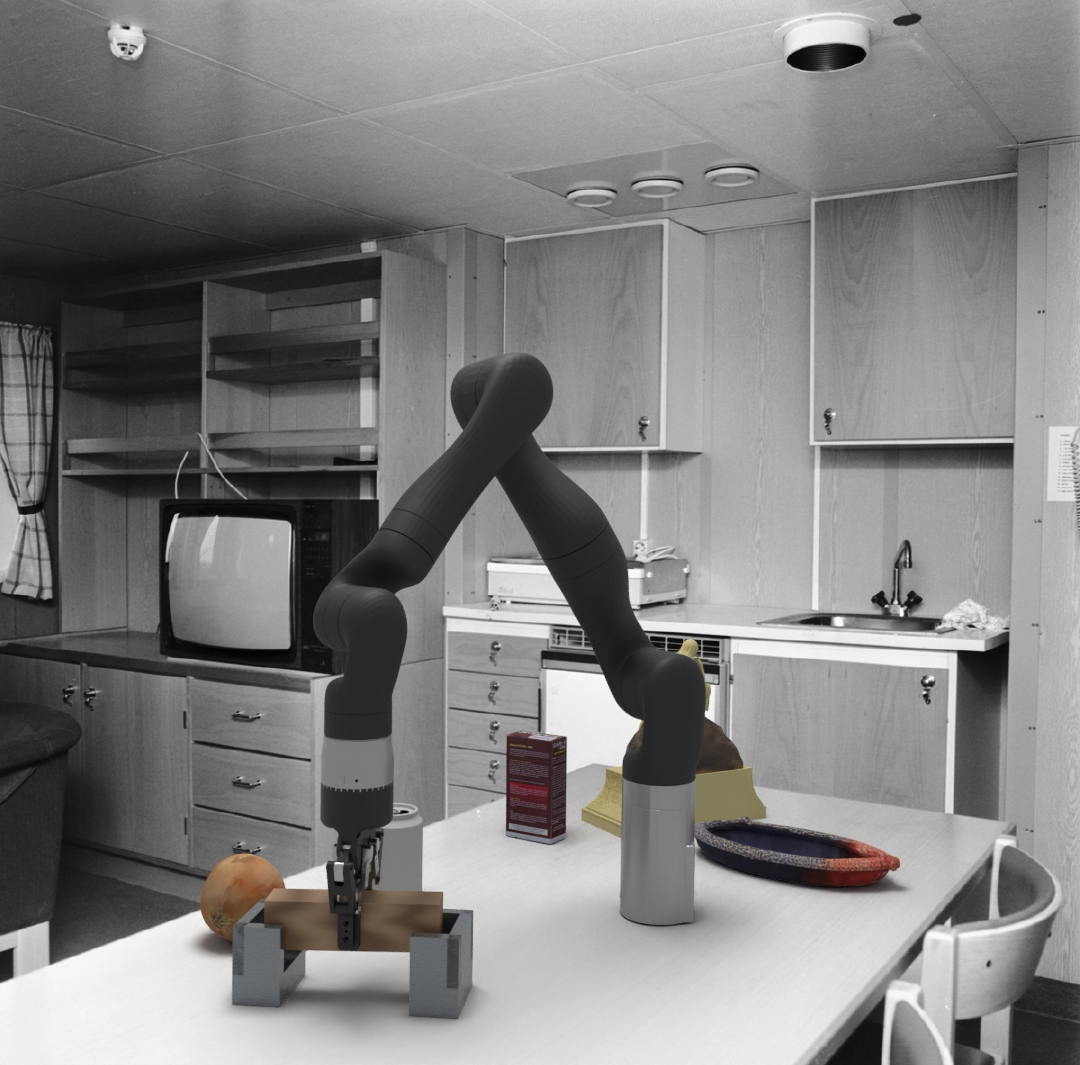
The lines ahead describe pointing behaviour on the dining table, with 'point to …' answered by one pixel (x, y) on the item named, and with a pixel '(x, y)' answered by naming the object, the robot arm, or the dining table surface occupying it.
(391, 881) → the can
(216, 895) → the onion
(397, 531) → the robot arm
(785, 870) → the dish
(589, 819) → the decorative clock
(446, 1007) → the cup brackets
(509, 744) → the supplement box
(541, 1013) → the dining table surface
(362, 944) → the rail
